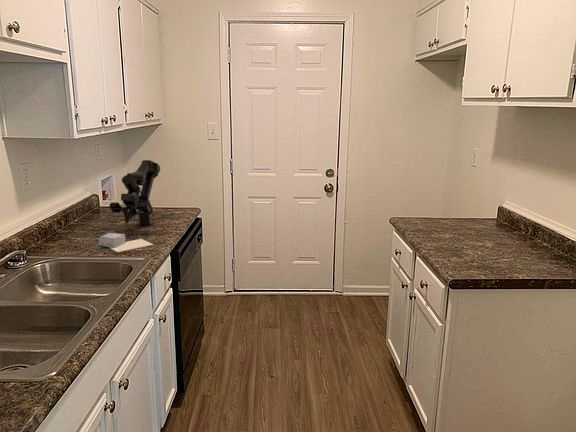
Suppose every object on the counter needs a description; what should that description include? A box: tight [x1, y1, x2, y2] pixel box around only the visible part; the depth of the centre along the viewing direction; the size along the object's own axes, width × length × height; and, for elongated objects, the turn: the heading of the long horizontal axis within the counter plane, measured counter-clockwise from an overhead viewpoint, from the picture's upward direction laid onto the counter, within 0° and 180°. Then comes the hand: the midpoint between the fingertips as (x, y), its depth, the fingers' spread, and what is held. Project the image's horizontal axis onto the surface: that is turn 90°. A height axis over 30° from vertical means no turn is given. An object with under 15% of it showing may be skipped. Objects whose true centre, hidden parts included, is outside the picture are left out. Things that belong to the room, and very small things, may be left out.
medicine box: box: [98, 232, 127, 248], centre depth 213 cm, size 8×4×9 cm
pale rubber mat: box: [108, 238, 154, 253], centre depth 213 cm, size 12×17×1 cm
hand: (126, 222), depth 225 cm, fingers closed
